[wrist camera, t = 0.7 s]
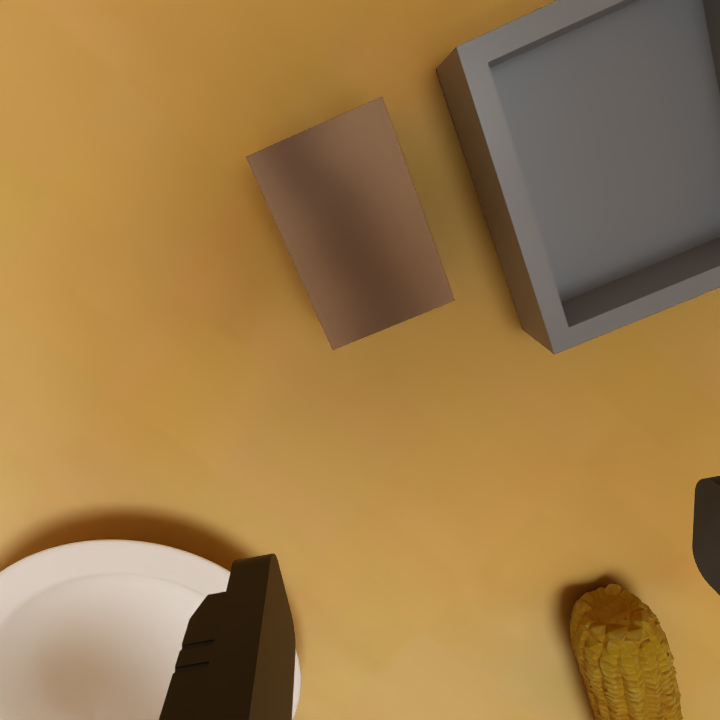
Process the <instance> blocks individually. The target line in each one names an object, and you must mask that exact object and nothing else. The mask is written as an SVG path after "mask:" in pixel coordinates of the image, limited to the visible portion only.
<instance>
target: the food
mask: <svg viewBox="0 0 720 720" xmlns="http://www.w3.org/2000/svg"><path fill="white" fill-rule="evenodd" d="M570 635H571V643H572V649H573V652H574V654H575V657H576V661H577V662H578V665H579V670H580V673H582V678H583V681H584V686H586V688H587V694H588V696H589V700H590V702H591V704H590V705H591V707H592V710H593V713H594V714H593V716H594V718H595V720H682V719H683V717H682V714H681V707H680V696H681V694H680V693H679V688H678V684H677V680H676V677H675V675H676V671H675V670H674V669H675V668H674V666H673V660H674V658H673V656H672V654H671V652H670V648H669V645H668V641H667V638H666V635H665V633H664V631H663V630H662V628H661V626H660V623H659V621H658V619H657V617H656V615H655V614H653V612H652V611H651V609H650V608H649V606H647V605H646V604H644V603H642V602H641V600H640V599H639V598H638V597H636V596H635V595H633V594H631V593H630V592H629V591H628V590H627V589H624V590H623V589H622V588H621V586H620V585H616V584H611V583H610V584H609V585H608V586H607V587H606V588H602V587H599V588H597V589H596V590H594V591H591V592H586V593H585V594H584V595H583V596H582V597H581V598H580V599H578V600H577V601H576V602H575V604H574V607H573V610H572V613H571V622H570Z"/></svg>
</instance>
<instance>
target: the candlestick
mask: <svg viewBox="0 0 720 720" xmlns="http://www.w3.org/2000/svg"><path fill="white" fill-rule="evenodd" d="M229 577H230V571H228V570H227V569H225V568H223V567H221V566H219V565H218V564H216V563H214V562H212V561H209V560H207V559H205V558H203V557H200V556H198V555H195V554H192V553H190V552H187V551H184V550H181V549H177V548H173V547H170V546H166V545H161V544H156V543H150V542H143V541H135V540H119V539H104V540H90V541H81V542H74V543H69V544H64V545H60V546H56V547H52V548H49V549H46V550H43V551H40V552H37V553H34V554H32V555H30V556H27V557H25V558H23V559H21V560H19V561H17V562H15V563H14V564H12V565H10V566H8V567H7V568H5V569H4V570H2V571H1V572H0V720H159V717H160V714H161V711H162V707H163V704H164V701H165V698H166V694H167V691H168V688H169V684H170V681H171V678H172V675H173V673H175V665H176V662H177V658H178V655H179V652H180V650H182V642H183V639H184V635H185V632H186V629H187V625H188V622H189V619H190V618H191V616H192V615H193V614H194V612H195V611H196V610H197V608H198V607H199V606H200V604H201V603H202V602H203V600H204V599H205V598H206V596H207V595H209V594H214V593H220V592H226V589H227V585H228V581H229ZM295 649H296V648H295ZM300 690H301V672H300V664H299V659H298V655H297V651H296V653H295V672H294V690H293V708H292V720H293V718H294V716H295V713H296V710H297V706H298V702H299V698H300Z"/></svg>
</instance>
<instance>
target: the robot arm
mask: <svg viewBox="0 0 720 720" xmlns="http://www.w3.org/2000/svg"><path fill="white" fill-rule="evenodd" d="M692 546H693V555H694V559H695V562H696V564H697V567H698V569H699V571H700V573H701V574H702V576H703V577H704V579H705V580H706V581H707V583H708V584H709V585H710V586H711V587H712V588H713V589H714V590H715V591H716V592H717V593H718V594H719V595H720V476H716V477H711V478H705V479H701V480H700V481H699V482H698V483H697V485H696V488H695V503H694V524H693V544H692ZM295 653H296V649H295V633H294V625H293V620H292V615H291V611H290V607H289V603H288V599H287V595H286V591H285V587H284V583H283V579H282V575H281V571H280V567H279V563H278V560H277V557H276V555H275V554H268V555H262V556H257V557H251V558H245V559H240V560H235V561H234V562H233V564H232V568H231V572H230V577H229V581H228V585H227V589H226V592H220V593H214V594H209V595H207V596H206V598H205V599H204V600H203V602H202V603H201V604H200V606H199V607H198V608H197V610H196V611H195V612H194V614H193V615H192V616H191V618H190V619H189V622H188V625H187V629H186V632H185V635H184V639H183V642H182V650H180V652H179V655H178V658H177V662H176V665H175V673H173V675H172V678H171V681H170V684H169V688H168V691H167V694H166V698H165V701H164V704H163V707H162V711H161V714H160V717H159V720H292V708H293V690H294V672H295Z"/></svg>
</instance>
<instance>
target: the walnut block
mask: <svg viewBox="0 0 720 720" xmlns="http://www.w3.org/2000/svg"><path fill="white" fill-rule="evenodd" d="M246 158H247V160H248V163H249V165H250V167H251V169H252V172H253V174H254V176H255V178H256V180H257V183H258V185H259V187H260V189H261V192H262V194H263V196H264V198H265V201H266V203H267V205H268V207H269V209H270V212H271V214H272V216H273V218H274V221H275V223H276V225H277V227H278V229H279V232H280V234H281V236H282V238H283V241H284V243H285V245H286V247H287V250H288V252H289V254H290V256H291V258H292V261H293V263H294V265H295V267H296V270H297V272H298V274H299V276H300V278H301V281H302V283H303V285H304V287H305V290H306V292H307V294H308V296H309V299H310V301H311V303H312V305H313V307H314V310H315V312H316V314H317V316H318V319H319V321H320V323H321V325H322V327H323V330H324V332H325V334H326V336H327V339H328V341H329V343H330V345H331V348H332V350H334V349H337V348H339V347H342V346H344V345H347V344H349V343H351V342H354V341H356V340H359V339H361V338H364V337H366V336H369V335H371V334H374V333H376V332H378V331H381V330H383V329H386V328H388V327H391V326H393V325H396V324H398V323H400V322H403V321H405V320H408V319H410V318H413V317H415V316H418V315H420V314H423V313H425V312H427V311H430V310H432V309H435V308H437V307H440V306H442V305H445V304H447V303H449V302H452V301H454V300H455V299H454V297H453V294H452V291H451V288H450V285H449V283H448V280H447V277H446V274H445V271H444V269H443V266H442V263H441V260H440V257H439V255H438V252H437V249H436V246H435V243H434V241H433V238H432V235H431V232H430V230H429V227H428V224H427V221H426V218H425V216H424V213H423V210H422V207H421V204H420V202H419V199H418V196H417V193H416V190H415V188H414V185H413V182H412V179H411V176H410V174H409V171H408V168H407V165H406V162H405V160H404V157H403V154H402V151H401V148H400V146H399V143H398V140H397V137H396V134H395V132H394V129H393V126H392V123H391V120H390V118H389V115H388V112H387V109H386V106H385V104H384V101H383V98H382V97H380V98H378V99H375V100H373V101H371V102H369V103H366V104H364V105H362V106H360V107H357V108H355V109H353V110H351V111H348V112H346V113H344V114H342V115H339V116H337V117H335V118H332V119H330V120H328V121H326V122H323V123H321V124H319V125H317V126H314V127H312V128H310V129H308V130H305V131H303V132H301V133H299V134H296V135H294V136H292V137H290V138H287V139H285V140H283V141H281V142H278V143H276V144H274V145H272V146H269V147H267V148H265V149H263V150H260V151H258V152H256V153H254V154H251V155H249V156H247V157H246Z"/></svg>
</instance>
